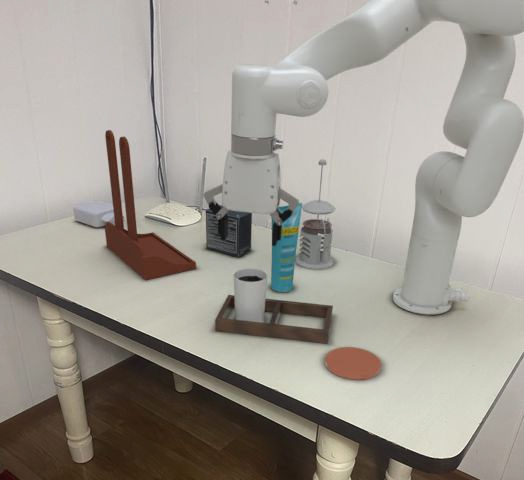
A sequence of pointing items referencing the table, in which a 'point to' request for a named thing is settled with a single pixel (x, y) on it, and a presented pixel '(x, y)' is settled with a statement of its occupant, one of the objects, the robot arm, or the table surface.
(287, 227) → the tube
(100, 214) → the charger
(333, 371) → the coaster
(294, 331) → the rack
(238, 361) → the table surface
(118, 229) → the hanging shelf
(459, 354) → the table surface
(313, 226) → the french press
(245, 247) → the small box
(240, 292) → the white cup
